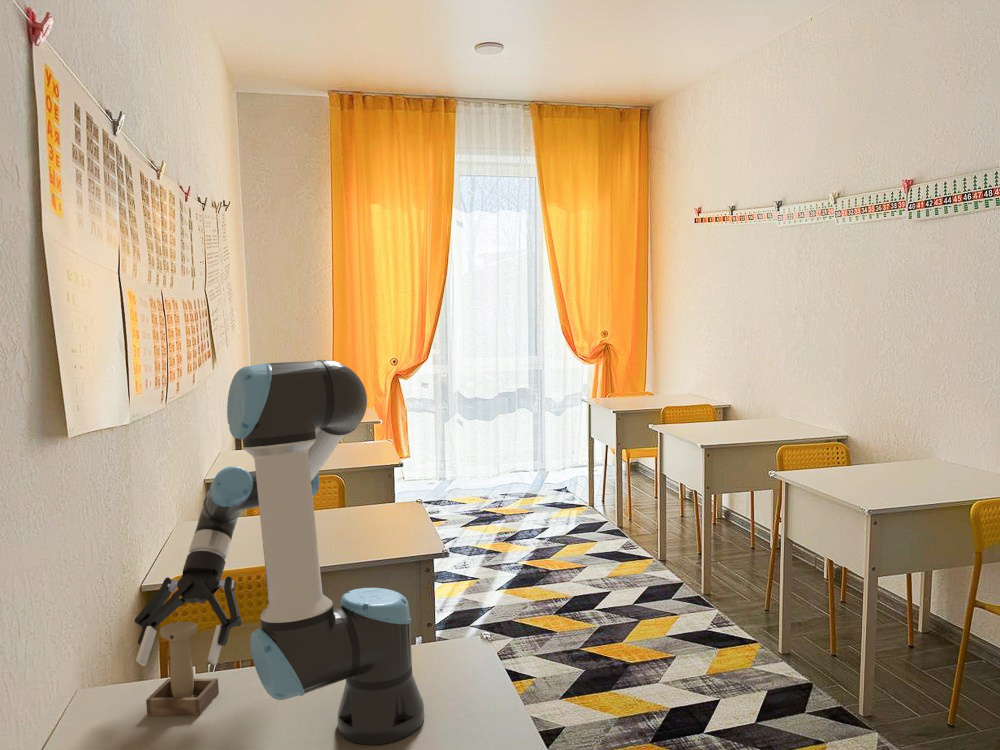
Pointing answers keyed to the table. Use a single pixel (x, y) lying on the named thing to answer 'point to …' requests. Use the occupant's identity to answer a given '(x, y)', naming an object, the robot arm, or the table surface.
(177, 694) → the handle
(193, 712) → the socket block
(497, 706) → the table surface
